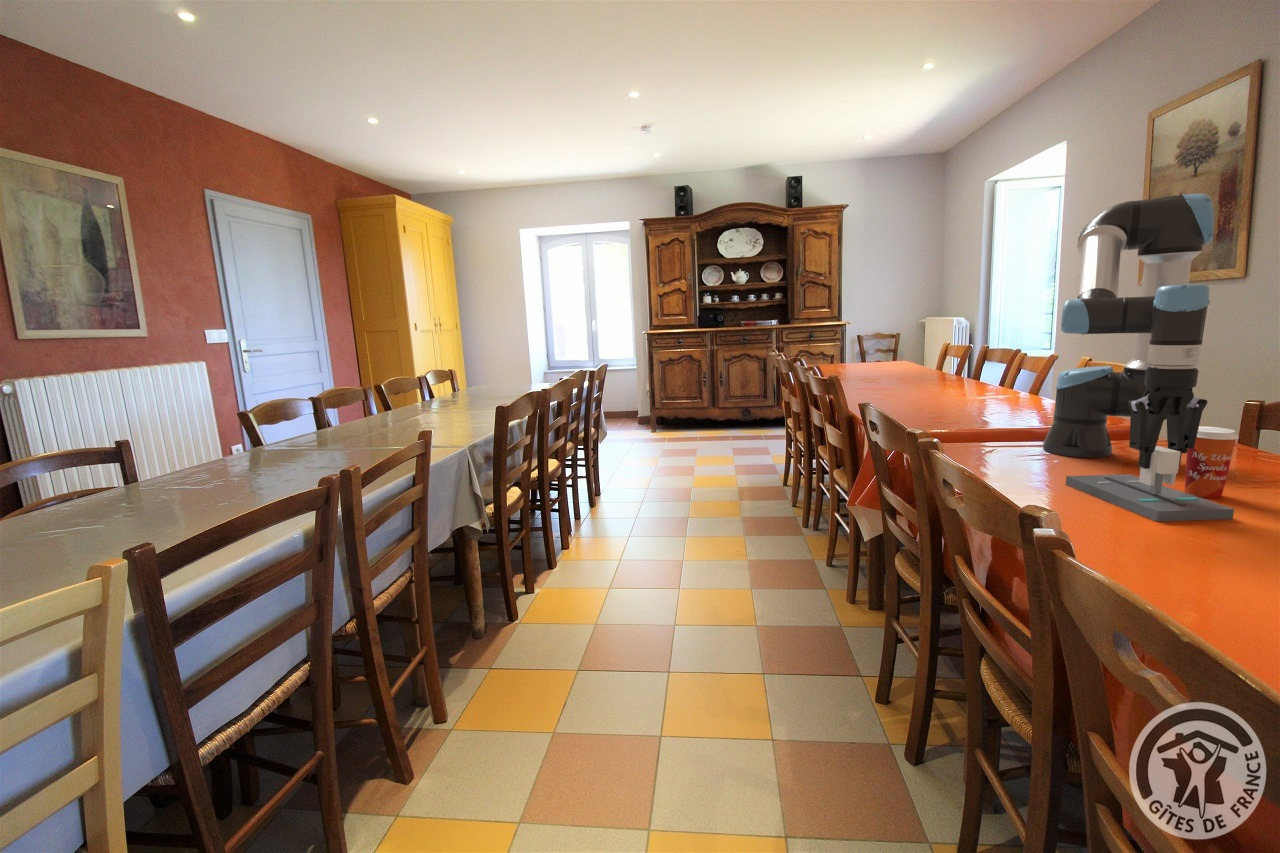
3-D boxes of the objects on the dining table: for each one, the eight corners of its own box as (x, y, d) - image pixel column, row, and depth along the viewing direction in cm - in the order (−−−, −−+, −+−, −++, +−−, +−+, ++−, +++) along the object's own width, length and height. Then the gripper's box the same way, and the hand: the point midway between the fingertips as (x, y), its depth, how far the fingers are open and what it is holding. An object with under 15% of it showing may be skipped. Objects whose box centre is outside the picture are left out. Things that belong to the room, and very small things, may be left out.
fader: (1136, 489, 118) (1142, 446, 116) (1152, 489, 118) (1158, 446, 116) (1157, 497, 113) (1163, 452, 112) (1174, 496, 113) (1180, 451, 111)
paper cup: (1185, 497, 120) (1194, 431, 117) (1172, 487, 126) (1181, 425, 124) (1236, 502, 116) (1247, 434, 113) (1220, 491, 123) (1231, 426, 120)
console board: (1065, 484, 131) (1066, 475, 131) (1128, 482, 131) (1129, 473, 130) (1156, 521, 108) (1157, 510, 107) (1232, 519, 107) (1234, 507, 107)
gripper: (1145, 370, 107) (1129, 490, 112) (1235, 366, 107) (1216, 487, 111) (1113, 366, 115) (1100, 479, 119) (1197, 363, 114) (1181, 476, 119)
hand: (1156, 483), depth 115 cm, fingers closed on fader, 3 cm apart
